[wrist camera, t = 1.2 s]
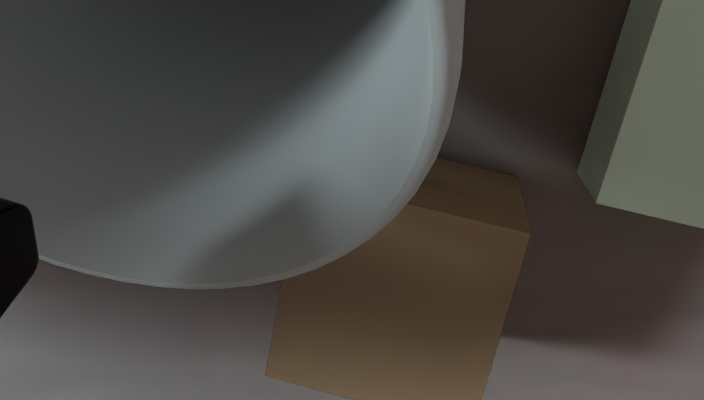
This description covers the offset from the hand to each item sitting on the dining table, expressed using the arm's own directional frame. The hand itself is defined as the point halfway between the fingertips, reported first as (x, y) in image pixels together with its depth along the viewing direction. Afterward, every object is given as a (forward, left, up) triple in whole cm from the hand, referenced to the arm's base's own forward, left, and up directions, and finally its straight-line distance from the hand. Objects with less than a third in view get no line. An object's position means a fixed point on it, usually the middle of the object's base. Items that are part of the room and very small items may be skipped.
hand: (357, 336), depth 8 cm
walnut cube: (-3, 0, -12) cm, 12 cm away
